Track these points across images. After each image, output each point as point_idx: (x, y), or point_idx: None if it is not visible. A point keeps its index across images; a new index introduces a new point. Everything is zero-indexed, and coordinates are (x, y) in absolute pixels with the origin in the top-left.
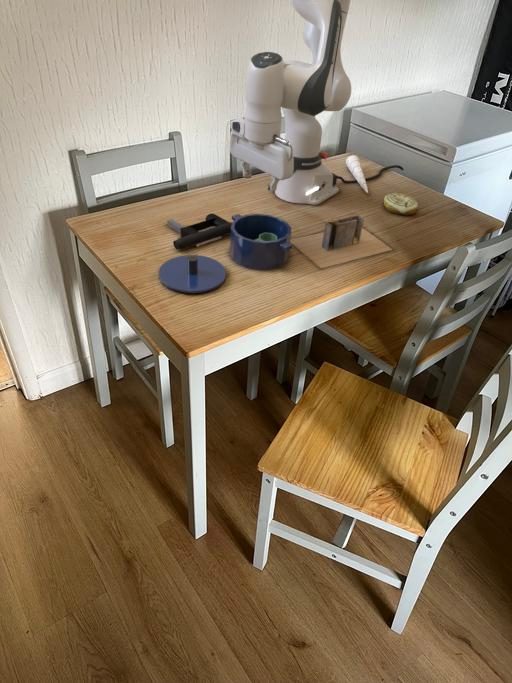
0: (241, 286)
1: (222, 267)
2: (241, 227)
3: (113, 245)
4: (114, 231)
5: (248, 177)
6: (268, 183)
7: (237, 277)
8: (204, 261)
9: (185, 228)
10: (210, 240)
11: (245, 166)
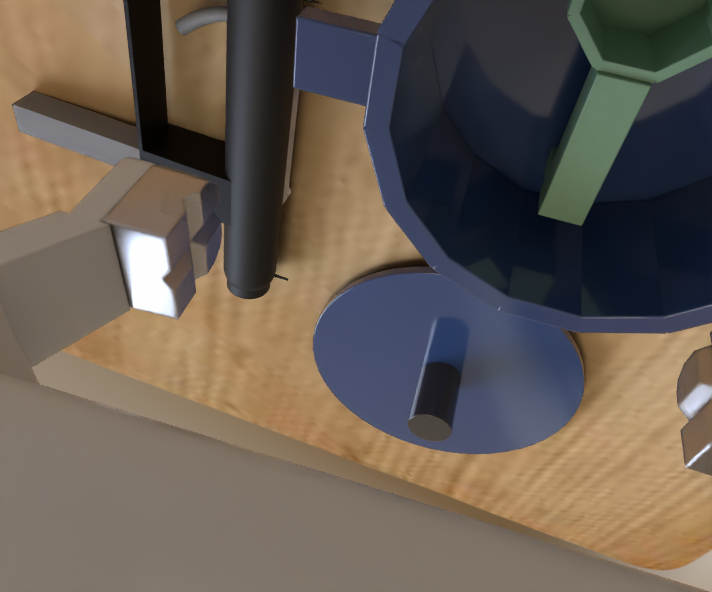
0: (669, 339)
1: None
2: (411, 72)
3: (109, 332)
4: None
5: (215, 234)
6: (692, 463)
7: None
8: (424, 306)
9: None
10: (292, 127)
11: (53, 317)
